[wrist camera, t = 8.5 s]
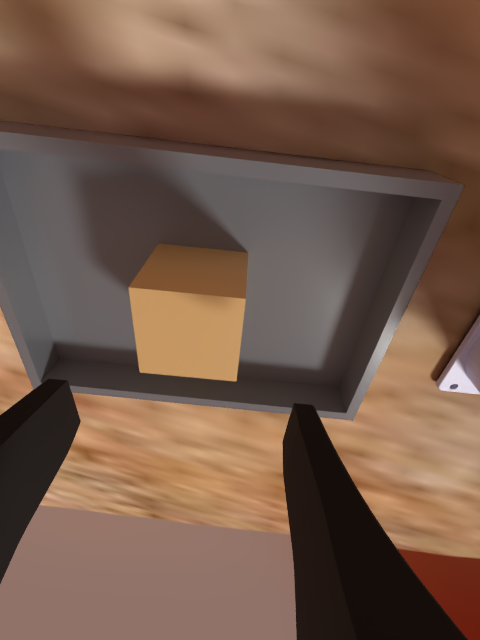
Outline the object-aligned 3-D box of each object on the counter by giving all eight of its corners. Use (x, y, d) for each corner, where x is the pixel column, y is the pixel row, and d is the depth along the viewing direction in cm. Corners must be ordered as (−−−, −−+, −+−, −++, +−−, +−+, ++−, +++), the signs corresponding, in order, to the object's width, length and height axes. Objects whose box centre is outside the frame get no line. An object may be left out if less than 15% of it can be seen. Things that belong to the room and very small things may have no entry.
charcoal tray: (429, 170, 14) (465, 185, 12) (342, 385, 22) (352, 420, 20) (-15, 119, 14) (-74, 123, 12) (58, 356, 22) (33, 388, 20)
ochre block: (248, 252, 16) (245, 298, 12) (240, 325, 19) (236, 381, 15) (158, 243, 16) (128, 287, 12) (163, 317, 19) (139, 372, 15)
